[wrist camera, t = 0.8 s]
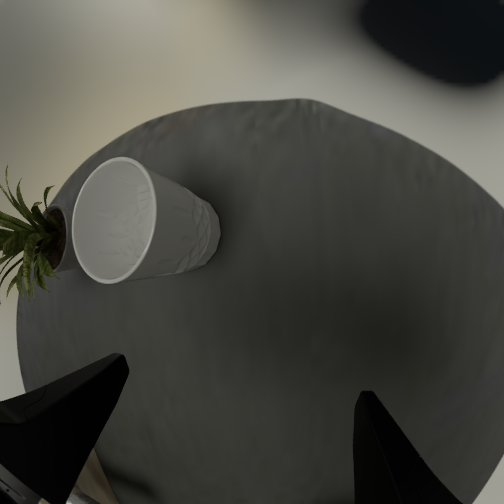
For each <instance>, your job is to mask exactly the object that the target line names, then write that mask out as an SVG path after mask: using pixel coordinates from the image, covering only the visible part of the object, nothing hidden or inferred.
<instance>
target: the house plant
mask: <svg viewBox="0 0 504 504" xmlns="http://www.w3.org/2000/svg"><path fill="white" fill-rule="evenodd" d="M6 182H7V168H6ZM7 184H8V183H7ZM19 184H20V182H19ZM19 184H18V186H17V198H18V201H19V203H20V205H21V206H20V205H19V203H18V202H17V201H16V200H15V199H14V197H13V196H12V194H11V192H10V190H9V193H10V196H11V198H12V200H13V202H12V201H11V199H10V198H9V196H8V195H7V193H6V192H5V190H4V189H3V188H2V186H1V185H0V188H1V189H2V190H3V192H4V193H5V195H6V196H7V198H8V199H9V201H10V202H11V203H12V205H13V206H14V207H15V208H16V209H17V210H18V211H19V212H20V214H21V215H23V217H24V218H26V219H27V220H28V221H29V222H30V224H31V225H29V224H27V223H25V222H23V221H21V220H19V219H17V218H15V217H12V216H10V215H7V214H5V213H3V212H1V211H0V226H2V227H6V228H9V229H12V230H14V231H9V230H5V229H0V251H1V250H3V255H4V254H5V255H6V256H4V257H2V258H0V264H2V263H3V262H4V261H6V260H7V259H8V258H10V257H11V256H13V257H12V258H14V257H15V256H16V255H17V254H18V253H20V252H21V251H23V250H24V255H23V257H22V258H21V259H20V260H19V261H18V262H16V263H15V264H14V265H13V266H12V267H11V268H10V269H9V270H8V271H7V272H6V273H5V275H4V276H3V278H2V280H1V283H0V286H1V284H2V282H3V280H4V278H5V277H6V276H7V274H8V273H9V272H10V271H11V270H12V269H13V268H14V267H15V266H16V265H17V264H19V263H20V262H21V261H22V260H23V264H22V265H21V266H20V268H19V271H18V274H17V275H16V276H15V277H14V278H13V280H12V281H11V283H10V285H9V287H8V291H7V296H8V293H9V291H10V289H11V287H12V286H13V285H14V284H15V283H16V284H17V288H18V291H19V293H20V294H21V296H22V297H23V298H24V295H23V291H22V283H21V277H22V276H23V277H24V285H25V289H26V293H27V297H28V300H29V302H30V293H31V288H30V275H31V271H32V266H33V263H34V262H35V261H36V260H37V262H36V265H35V267H34V277H35V281H36V283H37V284H38V285H39V286H40V287H41V288H43V289H45V290H46V291H48V292H50V291H49V290H48V289H47V287H46V284H45V281H44V278H43V275H42V273H43V274H44V275H47V276H50V277H55V278H58V277H57V276H55V274H54V273H57V272H61V271H65V270H70V269H74V268H79V267H81V265H80V263H79V261H78V259H77V256H76V254H75V250H74V246H73V240H72V218H73V212H74V211H72V210H70V209H67V208H65V207H62V206H60V205H57V204H53V205H50V206H49V207H47V205H46V199H47V194H48V192H49V190H50V189H51V187H53V186H51V187H47V188H46V190H45V192H44V202H45V206H46V209H45V211H44V212H43V213H41V212H40V210H39V208H38V205H39V204H41V203H42V202H36V203H34V205H33V207H32V209H31V212H32V213H31V212H30V211H29V209H28V208H27V207H26V205H25V204H24V201H23V199H22V196H21V193H20V187H19ZM33 220H34V221H35V222H37V223H38V224H36V223H35V222H34V221H33ZM35 248H36V249H35ZM36 254H37V255H36ZM35 255H36V256H35ZM34 256H35V257H34ZM12 258H11V259H12ZM11 259H10V260H11ZM10 260H9V261H10ZM9 261H8V262H7V264H8V263H9ZM7 264H6V265H7ZM6 265H5V266H6ZM5 266H4V267H3V269H4V268H5ZM3 269H2V271H3ZM2 271H1V272H2ZM1 272H0V274H1ZM34 277H33V280H32V294H33V297H34V291H33V281H34ZM50 293H51V292H50ZM34 301H35V299H34Z"/></svg>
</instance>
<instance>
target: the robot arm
mask: <svg viewBox="0 0 504 504" xmlns="http://www.w3.org/2000/svg"><path fill="white" fill-rule="evenodd" d="M128 375H129V367H128V364H127V362H126V359H125V356H124V355H122V354H119V353H113V354H111V355H109V356H107V357H105V358H102V359H100V360H98V361H96V362H94V363H92V364H90V365H88V366H86V367H84V368H81V369H79V370H77V371H75V372H73V373H71V374H69V375H67V376H64V377H62V378H60V379H58V380H56V381H53V382H51V383H49V384H48V385H45V386H42V387H40V388H38V389H36V390H33V391H31V392H28V393H25V394H22V395H19V396H16V397H14V398H10V399H7V400H4V401H0V504H39V502H40V501H41V499H42V498H43V499H44V500H45V501H47V502H48V503H50V504H66V502H67V500H68V498H69V496H70V494H71V492H72V490H73V488H74V486H75V483H76V481H77V479H78V476H79V475H80V473H81V471H82V469H83V467H84V465H85V463H86V461H87V459H88V457H89V455H90V453H91V451H92V449H93V447H94V445H95V443H96V441H97V440H98V438H99V436H100V434H101V432H102V430H103V428H104V426H105V424H106V422H107V421H108V419H109V417H110V415H111V413H112V411H113V409H114V408H115V406H116V404H117V402H118V399H119V397H120V394H121V392H122V390H123V387H124V385H125V382H126V380H127V377H128ZM353 461H354V487H355V504H463V503H461V502H460V501H459V500H458V499H457V498H456V497H455V496H454V495H453V494H452V493H451V492H450V491H449V490H448V489H447V488H446V487H445V485H444V484H443V483H442V482H441V481H440V480H439V479H438V478H437V477H436V476H435V474H434V473H433V472H432V471H431V470H430V468H429V467H428V466H427V464H426V463H425V462H424V460H423V459H422V457H420V455H419V453H418V452H417V451H416V449H415V448H414V447H413V445H412V444H411V442H410V441H409V440H408V438H407V437H406V436H405V434H404V433H403V431H402V430H401V429H400V427H399V426H398V425H397V423H396V422H395V420H394V419H393V418H392V416H391V415H390V414H389V412H388V411H387V410H386V408H385V407H384V406H383V404H382V403H381V401H380V400H379V399H378V397H377V396H376V395H375V393H374V392H373V391H361V393H360V395H359V398H358V400H357V403H356V405H355V412H354V433H353Z"/></svg>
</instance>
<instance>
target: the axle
mask: <svg viewBox="0 0 504 504" xmlns="http://www.w3.org/2000/svg"><path fill="white" fill-rule="evenodd" d="M66 504H101V503H99V502H98V501H96V500H94V499H93V498H91V497H89V496H88V495H86V494H85V493H83V492H82V491H80V490H78V489H77V488H75V487H74V488H73V490H72V492H71V494H70V496H69V498H68V500H67V502H66Z"/></svg>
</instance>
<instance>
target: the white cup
mask: <svg viewBox="0 0 504 504" xmlns="http://www.w3.org/2000/svg"><path fill="white" fill-rule="evenodd" d="M220 236H221V232H220V224H219V217H218V215H217V214H216V212H215V211H214V209H213V208H212V206H211V205H210V203H208V202H206V201H205V200H203V199H201V198H199V197H197V196H196V195H194V194H193V193H192V192H191V191H190V190H188V189H186V188H185V187H183V186H182V185H180V184H178V183H176V182H175V181H173V180H171V179H170V178H167V177H165V176H163V175H161V174H160V173H158V172H156V171H154V170H152V169H151V168H149V167H147V166H145V165H143V164H141V163H139V162H137V161H136V160H133V159H131V158H127V157H117V158H113V159H110V160H108V161H106V162H104V163H103V164H101V165H100V166H99V167H97V168H96V169H95V170H94V171H93V172H92V173H91V175H90V176H89V177H88V179H87V180H86V181H85V183H84V185H83V187H82V188H81V190H80V193H79V195H78V198H77V200H76V204H75V207H74V212H73V218H72V240H73V246H74V250H75V254H76V256H77V259H78V261H79V263H80V265H81V267H82V268H83V270H84V271H85V272H86V273H87V274H88V275H89V276H90V277H91V278H93V279H94V280H96V281H98V282H101V283H105V284H113V283H120V282H127V281H134V280H142V279H149V278H156V277H162V276H167V275H173V274H177V273H181V272H187V271H192V270H194V269H197V268H199V267H201V266H203V265H205V264H206V263H207V262H208V261H209V259H210V258H211V257H212V256H213V255H214V253H215V252H216V250H217V246H218V243H219V239H220Z"/></svg>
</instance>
